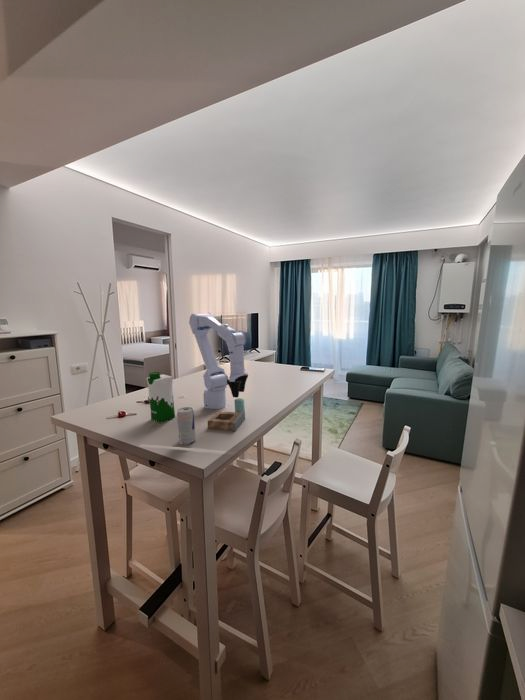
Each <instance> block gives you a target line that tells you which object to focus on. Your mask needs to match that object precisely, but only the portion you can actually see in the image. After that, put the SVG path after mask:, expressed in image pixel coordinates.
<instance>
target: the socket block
mask: <svg viewBox="0 0 525 700" xmlns="http://www.w3.org/2000/svg"><path fill="white" fill-rule="evenodd" d="M240 414H241V413H239V412H235V411H219V410H218V411H217V412H215V413H214V414H213V415H212V416H211V417H210V418H209V419H207V429H213V430H214V429H215V430H226V431H233V424H232V423H233V422H234V421H235V419H236V418H237V417H238V416H239V415H240Z"/></svg>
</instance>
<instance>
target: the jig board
mask: <svg viewBox="0 0 525 700" xmlns="http://www.w3.org/2000/svg"><path fill="white" fill-rule="evenodd" d="M245 420H246V411H242V412H241V414H240V415H239V416H238V417H237V418H236V419H235V421H234V422H233V423H232V424H233V430H232V432H234V433H236V431H237V430H238V429H239V428H240V426H241V425H242V424H243V423H244V421H245Z"/></svg>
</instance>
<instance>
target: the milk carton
mask: <svg viewBox="0 0 525 700" xmlns="http://www.w3.org/2000/svg"><path fill="white" fill-rule="evenodd" d="M145 380H146V383H147V388H148V389H147V390H148V396H149V405H150V407H149V408H150V419H153V420H152V421H154V420H155V421H154V422H156V421H157V422H156V423H158V422H159V424H162V423H161V422H163V423H164V421H166V422H168V421H171V420H173V419H174V418H176V413H175V411H176V410H175V404H174V403H175V401H174V391H173V380H174V377H173V376H171V375H168V374H164V373H163V374H161V372H159V371H153V372H149V377H146V379H145ZM170 419H171V420H170ZM167 420H168V421H167Z"/></svg>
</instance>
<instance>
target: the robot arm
mask: <svg viewBox="0 0 525 700" xmlns="http://www.w3.org/2000/svg"><path fill="white" fill-rule="evenodd" d="M188 324H189V326H190V330H191V332H192V335H194V337H195V340H196V343H197V346H198V349H199V352H200V354H201V357H202V360H203V363H204V365H205V369H206V371H205V372H204V374H203V376H202V377H203V381H204V382H203V383H204V386H205V389H204V391H203V409H214V410H220V409H225V408H226V407H228V406H230V403H227V397H226V396H227V395H226V389H227V386H228V387H229V389H230V391H231V395H232V398H239V395H240V393H244V392H245V389H246V382H247V379H248V377H249V374H248V372H247V371H246V368H245V355H244V353H245V352H244V346H245V345H246V343H247V336H246V335H245V333H244V332H243V331H237V330H236V329H235V328H232V327H231V326H229V324H228V323H221V322H219V321H218V319H217V318H215V315H214V314H212V313H211V312H206V313H192V314H190V316H189V321H188ZM212 329H213V330H215V331H216V334H217V336H218V337H220V338H221V339H222V340H224V341H225V344H226V346H227V350H228V352H229V365H230V373H229V376H228V375H227V373H226V371H225V369H224V368H223V367H220V366H219V365H218V361H217V360H216V357H215V354H214V352H213V349H212V345H211V343H210V340H209V338H208V334H209V333H210V332H211V330H212Z"/></svg>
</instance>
